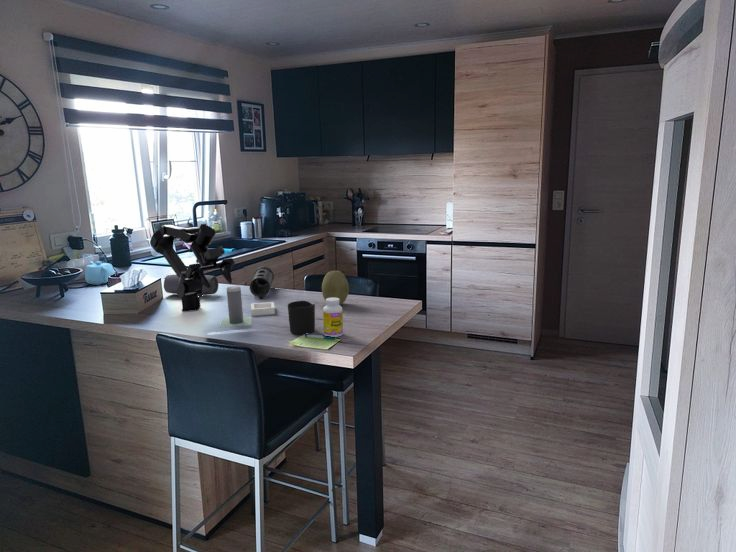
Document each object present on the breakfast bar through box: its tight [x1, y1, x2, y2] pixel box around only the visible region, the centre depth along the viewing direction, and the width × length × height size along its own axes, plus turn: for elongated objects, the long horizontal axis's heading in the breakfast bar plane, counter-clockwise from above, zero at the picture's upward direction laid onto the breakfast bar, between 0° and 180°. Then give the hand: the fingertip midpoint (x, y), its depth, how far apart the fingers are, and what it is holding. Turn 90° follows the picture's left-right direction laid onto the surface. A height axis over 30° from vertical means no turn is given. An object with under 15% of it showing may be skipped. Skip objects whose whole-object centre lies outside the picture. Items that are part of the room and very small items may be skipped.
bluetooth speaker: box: [163, 274, 219, 297], centre depth 232 cm, size 23×9×10 cm, turn 80°
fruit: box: [321, 269, 350, 306], centre depth 211 cm, size 11×11×15 cm
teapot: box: [84, 260, 116, 286], centre depth 262 cm, size 12×18×12 cm
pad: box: [220, 316, 253, 328], centre depth 189 cm, size 11×11×1 cm
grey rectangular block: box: [226, 285, 244, 324], centre depth 187 cm, size 5×5×13 cm
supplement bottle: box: [322, 297, 344, 338], centre depth 174 cm, size 7×7×13 cm
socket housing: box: [250, 301, 276, 317], centre depth 201 cm, size 9×9×4 cm
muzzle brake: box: [249, 265, 275, 299], centre depth 237 cm, size 10×28×10 cm, turn 7°
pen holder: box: [287, 300, 316, 336], centre depth 178 cm, size 9×9×10 cm
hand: (220, 285), depth 192 cm, fingers open, 9 cm apart
